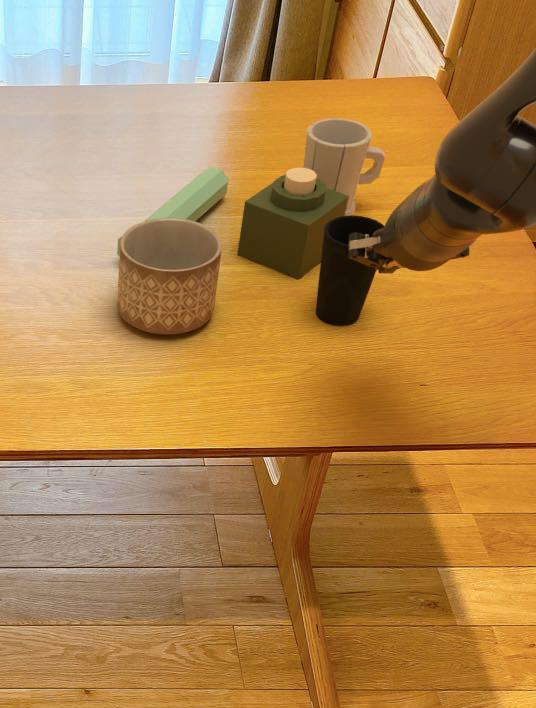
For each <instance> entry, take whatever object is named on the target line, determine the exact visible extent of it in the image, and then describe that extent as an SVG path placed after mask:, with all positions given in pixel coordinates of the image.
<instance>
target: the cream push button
mask: <svg viewBox="0 0 536 708" xmlns="http://www.w3.org/2000/svg"><path fill="white" fill-rule="evenodd" d="M285 174H286V176H285V182H284V190H285V191H286V192H289V193H291V194H295V195H306V194H311V193H313V191H314V187H315V182H316V177H317V175H316V173H315V172H314V171H313V170H310V169H307V168H303V167H293V168H290V169H288V170H287V171H286V172H285Z"/></svg>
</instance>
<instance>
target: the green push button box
mask: <svg viewBox="0 0 536 708" xmlns="http://www.w3.org/2000/svg"><path fill="white" fill-rule="evenodd" d="M285 176H286V173H285V174H283V175H280V176H278V178H276V179H275V180H273V182H271V183H270V184H269V185H267V186H266V187H264V188H263V189H261V190H260V191H258V192H257V193H255V194H253V195H252V196H250V197H249V198H248V199H246V200H245V201H244V204H243V205H244V206H243V212H242V220H241V226H240V234H239V241H238V248H237V256H239V257H242V258H244V259H247V260H250V261H252V262H255V263H257V264H259V265H262V266H263V267H266V268H269V269H271V270H274V271H276V272H278V273H282V274H283V275H286V276H288V277H291V278H293V279H296V280H300V279H301V278H302V277H304V276H305V275H306V274H307V273H309V272H310V271H312V270H313V269H314V268H315V267H317V266H318V265H320V264H321V254H322V245H323V236H324V228H325V225H326V224H327V223H328V222H329V221H331V220H333V219H335V218H338V217H342V216H345V212H346V207H347V203H348V198H349V196H347V195H344V194H341V193H339V192H336V191H333V190H330V189H327V188H326V185H325V184H324V183H323V182H322V181H321V180H320V179H318V178H316V182H315V187H314V191H313V193H311V194H306V195H295V194H291V193H289V192H286V191H285V190H284V182H285Z"/></svg>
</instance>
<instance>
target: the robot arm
mask: <svg viewBox="0 0 536 708" xmlns="http://www.w3.org/2000/svg"><path fill="white" fill-rule="evenodd" d="M533 104H536V47H535V48H534V49H533V50H532V52H531V53H530V54H529V55H528V57H526V59H525V60H524V61H523V62H522V63H521V65H519V66H518V68H516V70H515V71H513V73H511V75H510V76H509V77H508V78H507V79H506V80H504V82H502V84H501V85H500V86H498V87H497V88H495V90H494V91H492V93H491V94H489V95H488V96H487V97H486V98H485V99H483V101H481V102H480V103H479V104H478V105H477V106H475V107H474V108H473V109H472V110H471V111H470V112H469V113H467V114H465V116H464V117H463V118H462V119H460V120H459V122H458V123H457V124H456V125H454V126H453V127H452V128H451V129H450V131H449V132H448V133H447V134H446V135H445V136H444V138H443V139H442V142H441V143H440V145H439V147H438V149H437V152H436V156H435V161H434V173H435V174H434V175H433V176H431V178H430V179H427V180H426V181H425V182H423V183H421V184H420V185H419V186H418V187H416V188H415V189H414V190H413V191H412V192H411V193H410V194H409V195H408V196H407V197H405V199H404V200H403V201H402V202H401V203H400V204H399V205H398V206H397V207H395V208H394V210H393V211H392V212H391V213H390V214H389V216H388V218H387V220H386V222H385V224H384V228H382V229H379V230H377V231H375V232H374V233H373V236H372V237H371V238H369V235H368V234H366V235H363V234H361V233H357V232H354V233H352V234H349V258H350V259H353V260H355V261H357V262H360V263H362V264H364V265H367V266H371V267H375V270H376V271H377V270H378V271H377V272H378V274H393V273H395V272H396V271H397V270H399V269H407V270H409V271H415V272H427V271H431V270H435V269H438V268H440V267H441V266H443V265H445V264H446V263H447V262H449V261H451V260H455V259H461V258H466V257H469V256H470V247H471V246H472V245H473V244H474V243H475V242H476V241H477V239H478V238H480V237H481V236H483V235H484V236H485V235H495V234H506V233H513V232H518V231H522V230H525V229H528V228H530V227H533V226H535V225H536V124H534V123H533V122H530V120H527V119H526V118H524V117H522V116H520V115H519V114H520V113H521V112H522V111H523V110H524V109H526V108H528V107H529V106H531V105H533Z"/></svg>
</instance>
